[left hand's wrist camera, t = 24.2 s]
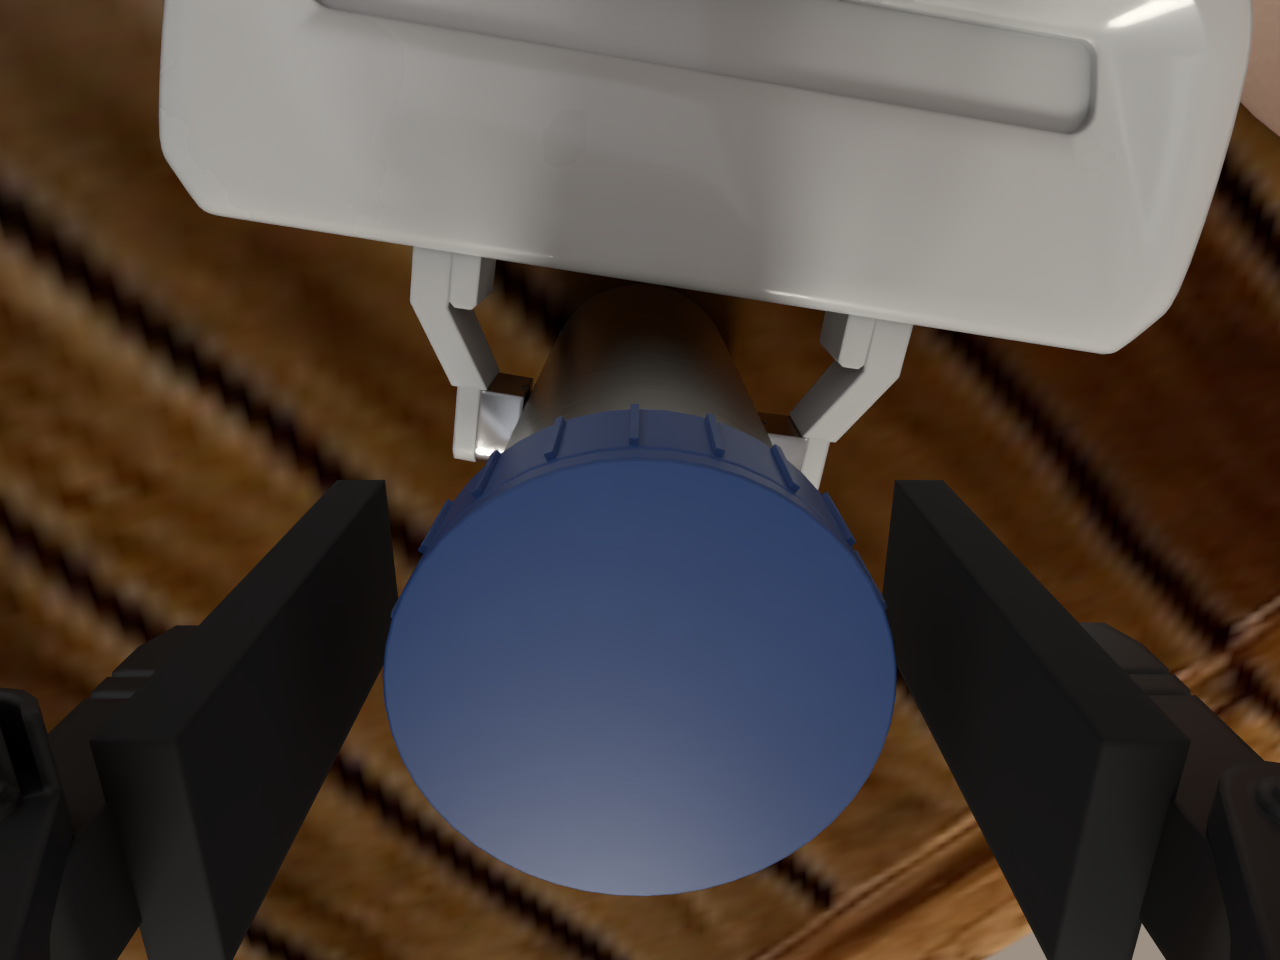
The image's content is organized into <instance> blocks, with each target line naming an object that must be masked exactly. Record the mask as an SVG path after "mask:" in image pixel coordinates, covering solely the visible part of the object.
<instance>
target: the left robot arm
mask: <svg viewBox="0 0 1280 960" xmlns="http://www.w3.org/2000/svg"><path fill="white" fill-rule="evenodd" d="M882 596H883V598H884V600H885V602H886V606H887V609H885V612H886V616H887V619H888V623H889V626H890V629H891V633H892V636H893V643H894V650H895V658H896V665H897V667H898V669H899V671H900V673H901V674H902V676H903V678H904V680H905V682H906V684H907V686H908V688H909V690H910V692H911V694H912V696H913V698H914V700H915V702H916V704H917V706H918V708H919V710H920V712H921V714H922V716H923V718H924V719H925V721H926V723H927V725H928V727H929V729H930V731H931V733H932V735H933V737H934V739H935V741H936V743H937V745H938V747H939V749H940V751H941V753H942V755H943V757H944V759H945V761H946V763H947V764H948V766H949V768H950V770H951V772H952V774H953V776H954V778H955V780H956V782H957V784H958V786H959V788H960V790H961V792H962V794H963V796H964V798H965V800H966V802H967V804H968V806H969V808H970V809H971V811H972V813H973V815H974V817H975V819H976V821H977V823H978V825H979V827H980V829H981V831H982V833H983V835H984V837H985V839H986V841H987V843H988V845H989V847H990V849H991V851H992V853H993V854H994V856H995V858H996V860H997V862H998V864H999V866H1000V868H1001V870H1002V872H1003V874H1004V876H1005V878H1006V880H1007V882H1008V884H1009V886H1010V888H1011V890H1012V892H1013V894H1014V896H1015V898H1016V899H1017V901H1018V903H1019V905H1020V907H1021V909H1022V911H1023V913H1024V915H1025V917H1026V919H1027V921H1028V923H1029V925H1030V927H1031V929H1032V931H1033V933H1034V935H1035V937H1036V939H1037V941H1038V943H1039V944H1040V946H1041V948H1042V950H1043V952H1044V954H1045V956H1046V958H1047V960H1132V957H1133V953H1134V949H1135V946H1136V942H1137V938H1138V935H1139V931H1140V927H1141V924H1143V925H1144V927H1145V928H1146V930H1147V932H1148V933H1149V934H1150V936H1151V938H1152V939H1153V940H1154V942H1155V944H1156V945H1157V947H1158V948H1159V950H1160V951H1161V953H1162V954H1163V956H1164V957H1165V959H1166V960H1280V763H1276V762H1269V761H1264V760H1263V759H1262V758H1261V757H1260V756H1259V755H1258V754H1257V753H1256V752H1255V751H1253V750H1252V749H1251V748H1250V747H1249V746H1248V745H1247V744H1246V743H1245V742H1244V741H1243V740H1242V739H1241V738H1240V737H1239V736H1238V735H1237V734H1236V733H1235V732H1234V731H1233V730H1232V729H1231V728H1229V727H1228V726H1227V725H1226V724H1225V723H1224V722H1223V721H1222V720H1221V719H1220V718H1219V717H1218V716H1217V715H1216V714H1215V713H1214V712H1213V711H1212V710H1211V709H1210V708H1209V707H1208V706H1207V705H1205V704H1204V703H1203V702H1202V701H1201V700H1200V699H1199V698H1198V697H1197V696H1196V695H1191V693H1190V689H1189V688H1188V687H1187V686H1186V685H1185V684H1184V683H1183V682H1181V681H1180V680H1179V679H1178V678H1177V677H1176V676H1175V675H1174V674H1169V672H1168V670H1169V669H1168V668H1167V667H1166V666H1165V665H1164V664H1163V663H1162V662H1161V661H1160V660H1159V659H1157V658H1156V657H1155V656H1154V655H1153V654H1152V653H1151V652H1150V651H1149V650H1148V649H1147V648H1146V647H1145V646H1144V645H1143V644H1141V643H1140V642H1138V641H1136V640H1134V639H1132V638H1131V637H1129V636H1127V635H1125V634H1123V633H1122V632H1120V631H1118V630H1116V629H1114V628H1113V627H1111V626H1109V625H1107V624H1105V623H1078V622H1077V621H1076V620H1075V619H1074V618H1073V616H1072V615H1071V614H1070V613H1069V612H1068V611H1067V610H1066V609H1065V608H1064V607H1063V606H1062V605H1061V604H1060V603H1059V602H1058V601H1057V600H1056V599H1055V598H1054V597H1053V596H1052V594H1051V593H1050V592H1049V591H1048V590H1047V589H1046V588H1045V587H1044V586H1043V585H1042V584H1041V583H1040V582H1039V581H1038V580H1037V579H1036V578H1035V577H1034V576H1033V575H1032V573H1031V572H1030V571H1029V570H1028V569H1027V568H1026V567H1025V566H1024V565H1023V564H1022V563H1021V562H1020V561H1019V560H1018V559H1017V558H1016V557H1015V556H1014V555H1013V554H1012V552H1011V551H1010V550H1009V549H1008V548H1007V547H1006V546H1005V545H1004V544H1003V543H1002V542H1001V541H1000V540H999V539H998V538H997V537H996V536H995V535H994V534H993V533H992V532H991V530H990V529H989V528H988V527H987V526H986V525H985V524H984V523H983V522H982V521H981V520H980V519H979V518H978V517H977V516H976V515H975V514H974V513H973V512H972V511H971V509H970V508H969V507H968V506H967V505H966V504H965V503H964V502H963V501H962V500H961V499H960V498H959V497H958V496H957V495H956V494H955V493H954V492H953V491H952V490H951V489H950V487H949V486H948V485H947V484H946V483H945V482H944V481H943V480H895V486H894V495H893V504H892V513H891V522H890V531H889V540H888V549H887V558H886V567H885V576H884V585H883V593H882ZM397 600H398V593H397V585H396V576H395V567H394V558H393V549H392V540H391V531H390V522H389V513H388V504H387V495H386V486H385V480H337V481H336V482H335V483H334V484H333V485H332V486H331V487H330V489H329V490H328V491H327V492H326V493H325V494H324V495H323V496H322V497H321V498H320V499H319V500H318V501H317V502H316V503H315V504H314V505H313V506H312V507H311V508H310V509H309V511H308V512H307V513H306V514H305V515H304V516H303V517H302V518H301V519H300V520H299V521H298V522H297V523H296V524H295V525H294V526H293V527H292V528H291V529H290V530H289V532H288V533H287V534H286V535H285V536H284V537H283V538H282V539H281V540H280V541H279V542H278V543H277V544H276V545H275V546H274V547H273V548H272V549H271V550H270V551H269V552H268V554H267V555H266V556H265V557H264V558H263V559H262V560H261V561H260V562H259V563H258V564H257V565H256V566H255V567H254V568H253V569H252V570H251V571H250V572H249V573H248V575H247V576H246V577H245V578H244V579H243V580H242V581H241V582H240V583H239V584H238V585H237V586H236V587H235V588H234V589H233V590H232V591H231V592H230V593H229V594H228V596H227V597H226V598H225V599H224V600H223V601H222V602H221V603H220V604H219V605H218V606H217V607H216V608H215V609H214V610H213V611H212V612H211V613H210V614H209V615H208V616H207V618H206V619H205V620H204V621H203V622H202V623H201V624H200V625H199V626H175V627H173V628H171V629H170V630H168V631H166V632H164V633H162V634H161V635H159V636H157V637H155V638H154V639H152V640H150V641H148V642H146V643H145V644H143V645H141V646H139V647H138V648H137V649H136V650H135V651H134V652H133V653H132V654H131V655H129V656H128V657H127V658H126V659H125V660H124V661H123V662H122V663H121V664H120V665H119V666H118V667H117V668H116V669H115V670H114V671H113V672H112V677H107V678H106V679H105V680H104V681H103V682H102V683H100V684H99V685H98V686H97V687H96V688H95V689H94V690H93V691H92V692H91V693H90V694H91V696H90V699H84V700H83V701H82V702H81V703H80V704H79V705H78V706H77V707H76V708H75V709H74V710H73V711H71V712H70V713H69V714H68V715H67V716H66V717H65V718H64V719H63V720H62V721H61V722H60V723H59V724H58V725H57V726H56V727H55V728H54V729H53V730H52V731H51V732H50V733H49V734H47V731H46V727H45V724H44V720H43V717H42V713H41V710H40V707H39V703H38V700H37V698H35V697H33V696H32V695H30V694H29V693H27V692H26V691H24V690H17V689H8V688H0V960H117V959H118V957H119V956H120V954H121V953H122V951H123V950H124V948H125V947H126V945H127V944H128V942H129V941H130V939H131V938H132V936H133V935H134V933H135V932H136V930H137V928H138V927H140V931H141V935H142V938H143V942H144V946H145V949H146V953H147V957H148V960H233V958H234V956H235V954H236V952H237V950H238V948H239V946H240V944H241V943H242V941H243V939H244V937H245V935H246V933H247V931H248V929H249V927H250V925H251V923H252V921H253V919H254V917H255V915H256V913H257V911H258V909H259V907H260V905H261V903H262V901H263V899H264V898H265V896H266V894H267V892H268V890H269V888H270V886H271V884H272V882H273V880H274V878H275V876H276V874H277V872H278V870H279V868H280V866H281V864H282V862H283V860H284V858H285V856H286V854H287V853H288V851H289V849H290V847H291V845H292V843H293V841H294V839H295V837H296V835H297V833H298V831H299V829H300V827H301V825H302V823H303V821H304V819H305V817H306V815H307V813H308V811H309V809H310V808H311V806H312V804H313V802H314V800H315V798H316V796H317V794H318V792H319V790H320V788H321V786H322V784H323V782H324V780H325V778H326V776H327V774H328V772H329V770H330V768H331V766H332V764H333V763H334V761H335V759H336V757H337V755H338V753H339V751H340V749H341V747H342V745H343V743H344V741H345V739H346V737H347V735H348V733H349V731H350V729H351V727H352V725H353V723H354V721H355V719H356V718H357V716H358V714H359V712H360V710H361V708H362V706H363V704H364V702H365V700H366V698H367V696H368V694H369V692H370V690H371V688H372V686H373V684H374V682H375V680H376V678H377V676H378V674H379V673H380V671H381V669H382V667H383V665H384V655H385V645H386V641H387V637H388V633H389V629H390V625H391V620H392V618H391V612H392V609H393V608H394V606H395V604H396V602H397Z"/></svg>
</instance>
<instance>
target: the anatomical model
mask: <svg viewBox="0 0 1280 960" xmlns="http://www.w3.org/2000/svg"><path fill="white" fill-rule="evenodd" d="M1252 4H1253V34H1252V46H1251V53H1250V59H1249V64H1248V70H1247V74H1246V78H1245V83H1244V87H1243V91H1242V96H1241V100H1240V102H1241V103H1242V104H1243V105H1244V106H1245V107H1246V108H1247V109H1248V110H1249V111H1250V112H1251V113H1252V114H1253V115H1254V116H1255V117H1256V118H1257V119H1258V120H1260V121H1261V122H1262V123H1263V124H1265V125H1266V126H1267V127H1268V128H1269V129H1271V130H1272V131H1273V132H1274V133H1276V134H1277V135H1278V136H1279V137H1280V0H1252Z"/></svg>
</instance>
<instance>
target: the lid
mask: <svg viewBox="0 0 1280 960" xmlns="http://www.w3.org/2000/svg"><path fill="white" fill-rule="evenodd" d="M854 543H856V541H855V539H854V537H853V535H852V534H851V532H850V530H849V528H848V527H847V525H846V523H845V521H844V520H843V518H842V516H841V514H840V513H839V511H838V509H837V507H836V506H835V504H834V502H833V500H832V499H831V497H830V496H829V494H828V493H827V492H825V493H824V494H822V495H821V494H820V492H819V491H818V490H817V489H816V488H815V487H814V485H813V484H812V483H811V482H810V481H809V480H808V479H807V478H806V477H805V475H804V474H803V473H802V472H801V471H800V470H799V469H797V468H796V467H795V466H794V465H793V464H791V463H790V462H789V461H788V460H787V459H786V457H785V455H784V453H783V451H782V449H781V447H779V446H778V445H776V444H774V445H773V447H772V448H770V447H769V446H767V445H765V444H764V443H762V442H761V441H759V440H757V439H756V438H754V437H752V436H750V435H748V434H746V433H744V432H741V431H739V430H737V429H735V428H733V427H730V426H728V425H726V424H723V423H720V422H716V418H715V415H713V414H709V413H707V414H706V417H705V418H703V417H700V416H697V415H691V414H685V413H679V412H674V411H668V410H649V409H639V404H631V407H630V409H627V410H615V411H604V412H599V413H594V414H590V415H585V416H580V417H576V418H572V419H569V420H566V421H565V419H564V417H563V416H561V417H558V418H556V419H555V422H554V425H552V426H549V427H546V428H544V429H542V430H540V431H538V432H536V433H534V434H532V435H530V436H528V437H526V438H524V439H522V440H520V441H518V442H517V443H515V444H514V445H512V446H511V447H510V448H508V449H507V450H505V451H504V452H502V453H500V452H499V451H498V450H497V449H496V450H495V451H494V452H492V453H491V455H490V457H489V459H488V461H487V463H486V464H485V466H484V468H483V469H482V470H480V471H479V472H478V473H477V474H476V475H475V476H474V477H473V478H472V479H471V480H470V481H469V483H468V484H467V485H466V486H465V488H464V489H463V490H462V491H461V492H460V494H459V495H458V496H457V497H456V498H455V500H454V501H453V502H452V501H450V500H449V499H447V501H446V502H445V504H444V506H443V507H442V509H441V511H440V513H439V514H438V516H437V518H436V519H435V521H434V523H433V525H432V526H431V528H430V530H429V532H428V533H427V535H426V537H425V539H424V540H423V542H422V544H421V546H420V547H419V549H418V551H419V552H421V553H423V555H422V557H421V559H420V561H419V562H418V564H417V566H416V568H415V570H414V571H413V573H412V575H411V577H410V579H409V580H408V582H407V584H406V586H405V588H404V590H403V591H402V593H401V595H400V597H399V599H398V600H397V602H396V604H395V606H394V608H393V609H392V612H391V618H392V620H391V625H390V629H389V633H388V637H387V641H386V645H385V655H384V667H383V684H384V698H385V706H386V711H387V715H388V719H389V724H390V728H391V733H392V735H393V738H394V740H395V743H396V746H397V748H398V751H399V753H400V756H401V759H402V760H403V762H404V764H405V766H406V768H407V769H408V771H409V773H410V775H411V777H412V778H413V780H414V782H415V784H416V785H417V786H418V788H419V789H420V790H421V792H422V793H423V794H424V796H425V797H426V798H427V800H428V801H429V802H430V804H431V805H432V806H433V807H434V808H435V809H436V810H437V812H438V813H439V814H440V815H441V816H442V817H443V818H444V819H445V820H446V821H447V822H448V823H449V824H450V825H451V826H452V827H453V828H454V829H456V830H457V831H458V832H459V833H461V834H462V835H463V836H464V837H466V838H467V839H468V840H469V841H471V842H472V843H473V844H474V845H476V846H477V847H479V848H480V849H482V850H484V851H485V852H487V853H488V854H490V855H492V856H493V857H495V858H496V859H498V860H500V861H501V862H503V863H505V864H508V865H510V866H512V867H514V868H516V869H518V870H520V871H522V872H524V873H526V874H529V875H532V876H534V877H537V878H540V879H543V880H546V881H548V882H551V883H554V884H558V885H562V886H566V887H570V888H574V889H578V890H583V891H588V892H596V893H603V894H610V895H628V896H653V895H668V894H678V893H684V892H690V891H696V890H702V889H706V888H710V887H714V886H717V885H721V884H725V883H728V882H732V881H735V880H737V879H740V878H742V877H745V876H747V875H750V874H753V873H755V872H758V871H760V870H762V869H764V868H766V867H768V866H770V865H772V864H774V863H776V862H778V861H779V860H781V859H783V858H785V857H787V856H789V855H790V854H792V853H793V852H795V851H796V850H797V849H799V848H800V847H802V846H803V845H805V844H806V843H808V842H809V841H811V840H812V839H813V838H814V837H816V836H817V835H818V834H819V833H820V832H821V831H822V830H824V829H825V828H826V827H827V826H828V825H829V824H831V823H832V822H833V821H834V820H835V819H836V818H837V816H838V815H839V814H840V813H841V812H842V811H843V810H844V809H845V808H846V806H847V805H848V804H849V803H850V802H851V801H852V800H853V798H854V797H855V796H856V794H857V793H858V791H859V790H860V788H861V787H862V785H863V784H864V782H865V781H866V780H867V778H868V777H869V775H870V773H871V771H872V769H873V767H874V765H875V763H876V761H877V759H878V757H879V755H880V753H881V751H882V748H883V745H884V742H885V739H886V736H887V733H888V730H889V727H890V724H891V719H892V714H893V708H894V702H895V697H896V668H897V665H896V658H895V650H894V643H893V636H892V633H891V629H890V626H889V623H888V619H887V616H886V612H885V609H887V606H886V602H885V600H884V598H883V596H882V595H881V593H880V591H879V589H878V587H877V586H876V584H875V582H874V580H873V579H872V577H871V575H870V573H869V571H868V570H867V568H866V566H865V564H864V562H863V561H862V559H861V557H860V555H859V553H858V552H857V551H855V550H854V549H853V547H852V545H853V544H854Z"/></svg>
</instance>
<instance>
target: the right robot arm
mask: <svg viewBox="0 0 1280 960" xmlns="http://www.w3.org/2000/svg"><path fill="white" fill-rule="evenodd" d="M1252 34H1253V4H1252V0H165V1H164V13H163V25H162V39H161V59H160V85H159V135H160V142H161V148H162V151H163V154H164V157H165V159H166V160H167V162H168V164H169V165H170V167H171V168H172V169H173V171H174V172H175V174H176V175H177V177H178V178H179V180H180V181H181V183H182V184H183V185H184V187H185V188H186V190H187V191H188V193H189V194H190V195H191V197H192V198H193V199H194V201H195V202H196V203H197V204H198V206H199V207H200V208H201V209H203V210H204V211H206V212H208V213H210V214H213V215H218V216H224V217H230V218H236V219H242V220H249V221H255V222H262V223H268V224H274V225H281V226H287V227H294V228H300V229H306V230H313V231H319V232H325V233H332V234H338V235H345V236H351V237H357V238H364V239H370V240H377V241H383V242H389V243H396V244H402V245H409V246H413V260H412V277H411V294H410V303H411V305H412V307H413V309H414V311H415V313H416V315H417V317H418V319H419V321H420V323H421V325H422V327H423V329H424V331H425V333H426V335H427V337H428V339H429V341H430V343H431V345H432V347H433V349H434V351H435V353H436V355H437V357H438V359H439V361H440V363H441V365H442V367H443V369H444V371H445V373H446V375H447V377H448V379H449V381H450V383H451V385H453V386H457V400H456V413H455V425H454V438H453V455H454V458H457V459H462V460H468V461H473V462H475V461H480V462H487V461H488V459H489V457H490V455H491V453H492V452H494V451H495V450H496V449H497V450H498V451H499V452H500V453H502V452H504V450H505V448H506V446H507V443H508V441H509V439H510V437H511V435H512V433H513V431H514V429H515V426H516V424H517V422H518V420H519V418H520V416H521V414H522V412H523V409H524V407H525V405H526V403H527V401H528V399H529V397H530V395H531V392H532V384H533V378H527V377H522V376H516V375H510V374H504V373H499V368H498V366H497V364H496V361H495V359H494V357H493V354H492V352H491V350H490V347H489V345H488V343H487V340H486V338H485V336H484V333H483V331H482V329H481V326H480V324H479V322H478V319H477V317H476V315H475V312H474V310H473V308H474V307H475V306H476V305H478V304H479V303H480V302H481V301H482V300H483V299H485V298H486V297H487V296H488V295H489V294H491V293H492V292H493V284H494V274H495V265H496V259H498V260H504V261H511V262H517V263H523V264H530V265H536V266H543V267H549V268H555V269H562V270H568V271H575V272H581V273H587V274H594V275H600V276H607V277H613V278H619V279H626V280H632V281H638V282H645V283H651V284H658V285H664V286H670V287H677V288H683V289H690V290H696V291H702V292H709V293H715V294H722V295H728V296H734V297H741V298H747V299H753V300H760V301H766V302H773V303H779V304H785V305H792V306H798V307H805V308H811V309H817V310H824V311H826V312H825V316H824V321H823V326H822V331H821V335H820V340H819V342H820V344H821V346H822V347H823V348H824V349H825V350H826V351H827V352H828V353H829V354H830V355H831V356H832V357H833V358H834V359H835V361H834V362H833V363H832V364H831V365H830V366H829V368H828V369H827V370H826V371H825V372H824V373H823V375H822V376H821V377H820V378H819V379H818V380H817V382H816V383H815V384H814V385H813V386H812V387H811V389H810V390H809V391H808V392H807V393H806V394H805V396H804V397H803V398H802V399H801V400H800V401H799V403H798V404H797V405H796V406H795V407H794V409H793V410H792V411H791V412H790V413H789V415H790V416H785V415H777V414H769V413H761V412H757V413H758V415H759V417H760V419H761V421H762V423H763V425H764V427H765V430H766V432H767V434H768V436H769V438H770V440H771V442H772V444H773V445H774V444H776V445H778V446H779V447H781V449H782V451H783V453H784V455H785V457H786V459H787V460H788V461H789V462H790V463H791V464H793V465H794V466H795V467H796V468H797V469H799V470H800V471H801V472H802V473H803V474H804V475H805V477H806V478H807V479H808V480H809V481H810V482H811V483H812V484H813V485H814V487H815V488H816V489H817V490H818V489H819V485H820V481H821V477H822V473H823V468H824V464H825V460H826V456H827V452H828V448H829V444H830V442H836V441H837V440H838V439H839V438H840V437H841V436H842V435H843V434H844V433H845V432H846V431H847V430H848V429H849V428H850V427H851V426H852V425H853V424H854V423H855V422H856V421H857V420H858V419H859V418H860V417H861V416H862V415H863V414H864V413H865V412H866V411H867V410H868V409H869V408H870V407H871V406H872V404H873V403H874V402H875V401H876V400H877V399H878V398H879V397H880V396H881V395H882V394H883V393H884V392H885V391H886V390H887V389H888V388H889V387H890V386H891V385H892V384H893V383H894V382H895V381H896V380H897V379H898V378H899V376H900V372H901V368H902V365H903V361H904V357H905V353H906V350H907V346H908V342H909V339H910V335H911V331H912V328H913V325H920V326H926V327H932V328H939V329H945V330H951V331H958V332H964V333H971V334H977V335H983V336H990V337H996V338H1003V339H1009V340H1015V341H1022V342H1028V343H1035V344H1041V345H1047V346H1054V347H1060V348H1067V349H1073V350H1080V351H1086V352H1093V353H1099V354H1110V353H1114V352H1116V351H1118V350H1120V349H1121V348H1122V347H1124V346H1125V345H1127V344H1128V343H1130V342H1131V341H1132V340H1134V339H1135V338H1136V337H1137V336H1139V335H1140V334H1141V333H1142V332H1144V331H1145V330H1146V329H1147V328H1148V327H1150V326H1151V325H1152V324H1153V323H1154V322H1156V321H1157V320H1158V319H1159V318H1160V317H1162V316H1163V315H1164V314H1165V313H1166V311H1167V310H1168V309H1169V308H1170V306H1171V305H1172V303H1173V301H1174V299H1175V297H1176V295H1177V293H1178V292H1179V290H1180V287H1181V285H1182V282H1183V280H1184V277H1185V275H1186V272H1187V270H1188V268H1189V265H1190V263H1191V260H1192V257H1193V254H1194V251H1195V248H1196V246H1197V243H1198V240H1199V237H1200V234H1201V231H1202V229H1203V226H1204V223H1205V220H1206V217H1207V214H1208V211H1209V207H1210V204H1211V201H1212V198H1213V195H1214V192H1215V189H1216V186H1217V182H1218V179H1219V176H1220V172H1221V169H1222V166H1223V162H1224V159H1225V155H1226V152H1227V149H1228V145H1229V142H1230V138H1231V135H1232V131H1233V127H1234V123H1235V119H1236V115H1237V112H1238V108H1239V104H1240V100H1241V96H1242V91H1243V87H1244V83H1245V78H1246V74H1247V70H1248V64H1249V59H1250V53H1251V46H1252Z"/></svg>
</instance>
